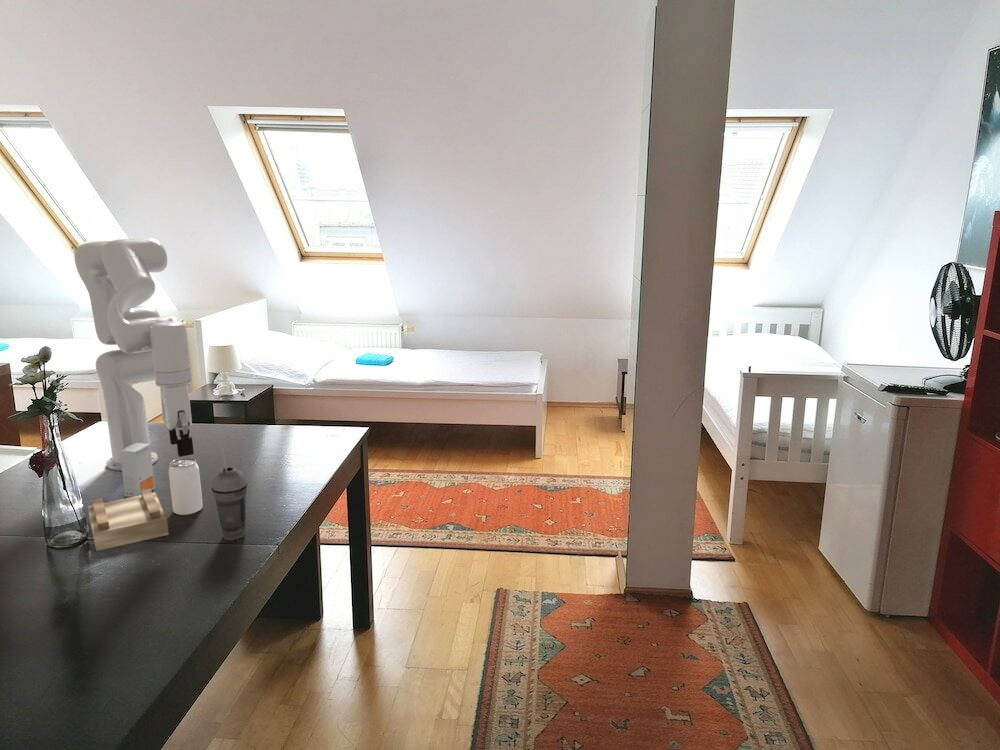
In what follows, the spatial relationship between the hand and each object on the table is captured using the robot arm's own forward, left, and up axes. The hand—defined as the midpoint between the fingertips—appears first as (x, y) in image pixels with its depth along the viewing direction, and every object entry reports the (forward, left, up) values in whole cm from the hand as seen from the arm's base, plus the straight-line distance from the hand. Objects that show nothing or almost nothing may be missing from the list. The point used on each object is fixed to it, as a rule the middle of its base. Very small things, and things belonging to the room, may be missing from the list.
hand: (182, 449), depth 168 cm
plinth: (+3, -13, -15) cm, 20 cm away
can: (0, 0, -16) cm, 16 cm away
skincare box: (-17, -8, -16) cm, 25 cm away
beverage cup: (+19, +6, -16) cm, 25 cm away
